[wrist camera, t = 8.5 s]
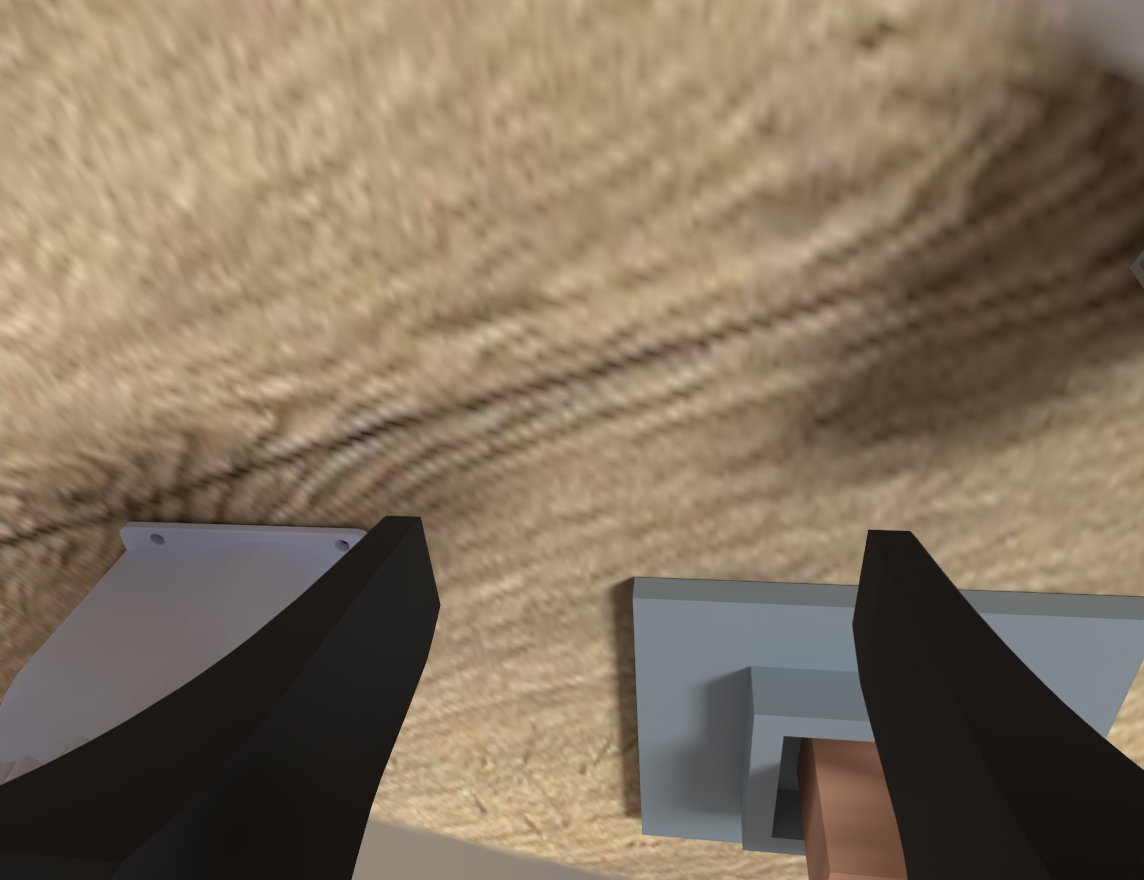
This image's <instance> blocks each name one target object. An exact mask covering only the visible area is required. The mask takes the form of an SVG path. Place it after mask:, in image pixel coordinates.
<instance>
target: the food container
mask: <svg viewBox="0 0 1144 880" xmlns="http://www.w3.org/2000/svg"><path fill="white" fill-rule="evenodd" d="M1129 270H1130V271H1131V273H1132V274H1133V275H1134V276H1135V278H1136V279H1137V280H1138V281H1139V283H1140V284H1141V285H1142V286H1143V288H1144V250H1143V251H1142V252H1141V253H1140V255H1139V256H1138V257H1137V258H1136V260H1135V261H1134V262H1133V264H1132V265H1131V266H1130V267H1129Z"/></svg>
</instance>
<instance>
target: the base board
mask: <svg viewBox="0 0 1144 880" xmlns="http://www.w3.org/2000/svg"><path fill="white" fill-rule="evenodd" d="M858 587H859V586H846V585H820V584H795V583H769V582H743V581H718V580H692V579H666V578H641V577H635V579H634V589H633V619H634V644H635V668H636V693H637V718H638V743H639V768H640V793H641V817H642V835H654V836H665V837H677V838H688V839H700V840H711V841H723V842H734V843H742V844H743V850H748V851H760V852H771V853H782V854H794V855H805V856H806V849H805V840H804V832H803V823H802V814H801V805H800V797H799V788H798V779H797V765H798V758H799V752H800V745H801V739H802V737H807V738H822V739H837V740H852V741H867V742H875V739H874V735H873V732H872V728H871V724H870V720H869V716H868V713H867V709H866V705H865V701H864V697H863V693H862V689H861V685H860V679H859V672H858V665H857V659H856V651H855V643H854V635H853V627H852V621H853V616H854V610H855V604H856V598H857V593H858ZM959 591H960V592H961V594H962V595H963V596H964V597H965V598H966V600H967V601H968V602H969V603H970V604H971V605H972V607H973V608H974V609H975V610H976V611H977V612H978V614H979V615H980V616H981V617H982V618H983V619H984V620H985V621H986V622H987V624H988V625H989V626H990V627H991V628H992V629H993V630H994V631H995V633H996V634H997V635H998V636H999V637H1000V638H1001V639H1002V640H1003V641H1004V643H1005V644H1006V645H1007V646H1008V647H1009V648H1010V649H1011V650H1012V651H1013V652H1014V653H1015V654H1016V655H1017V656H1018V657H1019V658H1020V659H1021V661H1022V662H1023V663H1024V664H1025V665H1026V666H1027V667H1028V668H1029V669H1030V670H1031V671H1032V672H1033V673H1034V674H1035V675H1036V676H1037V677H1038V678H1039V679H1040V680H1041V681H1042V682H1043V683H1044V684H1045V685H1046V686H1047V687H1048V688H1049V689H1050V690H1051V691H1053V692H1054V693H1055V694H1056V695H1057V696H1058V697H1059V698H1060V699H1061V700H1062V701H1063V702H1064V703H1065V704H1066V705H1067V706H1068V707H1069V708H1071V709H1072V710H1073V711H1074V712H1075V713H1076V714H1077V715H1079V716H1080V717H1081V718H1082V719H1083V720H1084V721H1085V722H1087V723H1088V724H1089V725H1090V726H1091V727H1092V728H1093V729H1095V730H1096V731H1097V732H1098V733H1099V734H1100V735H1101V736H1103V737H1104V738H1105V739H1106V737H1107V735H1108V733H1109V731H1110V729H1111V727H1112V725H1113V723H1114V721H1115V719H1116V716H1117V714H1118V712H1119V710H1120V708H1121V706H1122V704H1123V702H1124V700H1125V697H1126V695H1127V693H1128V691H1129V689H1130V687H1131V685H1132V683H1133V681H1134V678H1135V676H1136V674H1137V672H1138V670H1139V668H1140V666H1141V664H1142V662H1143V660H1144V597H1128V596H1102V595H1077V594H1051V593H1025V592H1000V591H974V590H959Z"/></svg>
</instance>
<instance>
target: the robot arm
mask: <svg viewBox="0 0 1144 880" xmlns="http://www.w3.org/2000/svg"><path fill="white" fill-rule="evenodd" d="M119 534H120V538H121V540H122V542H123V544H124V546H125V548H126V550H127V551H126V552H125V553H124V554H123V555H122V556H121V557H120V558H119V559H118V561H117V562H116V563H115V564H114V565H113V566H112V567H111V568H110V569H109V571H108V572H107V573H106V574H105V575H104V576H103V577H102V578H101V580H100V581H99V582H98V583H97V584H96V585H95V586H94V587H93V589H92V590H91V591H90V592H89V593H88V594H87V595H86V596H85V598H84V599H83V600H82V601H81V602H80V603H79V604H78V605H77V607H76V608H75V609H74V610H73V611H72V612H71V613H70V614H69V616H68V617H67V618H66V619H65V620H64V621H63V622H62V623H61V625H60V626H59V627H58V628H57V629H56V630H55V631H54V632H53V633H52V635H51V636H50V637H49V638H48V639H47V640H46V641H45V642H44V644H43V645H42V646H41V647H40V648H39V649H38V650H37V651H36V653H35V654H34V655H33V656H32V657H31V658H30V659H29V660H28V662H27V663H26V664H25V665H24V666H23V668H22V669H21V670H20V672H19V673H18V674H17V676H16V677H15V679H14V680H13V682H12V684H11V685H10V687H9V689H8V690H7V692H6V694H5V696H4V699H3V701H2V703H1V705H0V880H351V879H352V875H353V871H354V868H355V864H356V860H357V856H358V853H359V849H360V845H361V842H362V839H363V835H364V831H365V828H366V824H367V821H368V817H369V814H370V810H371V807H372V803H373V801H374V798H375V795H376V792H377V789H378V786H379V783H380V780H381V777H382V775H383V772H384V770H385V767H386V765H387V762H388V760H389V757H390V754H391V752H392V749H393V747H394V744H395V742H396V739H397V737H398V734H399V732H400V729H401V726H402V724H403V721H404V719H405V716H406V714H407V711H408V709H409V706H410V703H411V701H412V698H413V696H414V693H415V690H416V688H417V685H418V683H419V680H420V677H421V675H422V672H423V669H424V667H425V664H426V661H427V658H428V654H429V650H430V647H431V643H432V639H433V635H434V631H435V626H436V622H437V618H438V613H439V609H440V601H439V596H438V592H437V588H436V583H435V579H434V574H433V570H432V565H431V561H430V556H429V552H428V548H427V543H426V539H425V534H424V530H423V525H422V521H421V517H407V516H386V517H384V518H383V519H382V520H381V521H380V522H379V523H378V524H377V525H376V526H374V527H373V528H372V529H371V530H370V531H369V532H368V533H367V532H366V531H364V530H361V529H353V528H321V527H289V526H258V525H226V524H194V523H163V522H128V523H126V524H125V525H124V526H123V527H122V528H121V529H120V532H119ZM341 540H343V541H345V542H347V543H348V544H345V543H343V542H342V541H341ZM852 627H853V635H854V643H855V651H856V659H857V665H858V672H859V679H860V685H861V689H862V693H863V697H864V701H865V705H866V709H867V713H868V716H869V720H870V724H871V728H872V732H873V735H874V739H875V743H876V747H877V750H878V754H879V758H880V762H881V765H882V769H883V773H884V777H885V780H886V784H887V788H888V792H889V795H890V799H891V803H892V806H893V810H894V814H895V818H896V822H897V826H898V831H899V835H900V840H901V844H902V849H903V854H904V860H905V866H906V872H907V878H908V880H1144V770H1143V769H1142V768H1140V767H1139V766H1138V765H1137V764H1135V763H1134V762H1133V761H1131V760H1130V759H1129V758H1128V757H1127V756H1125V755H1124V754H1123V753H1122V752H1120V751H1119V750H1118V749H1117V748H1116V747H1114V746H1113V745H1112V744H1111V743H1109V742H1108V741H1107V740H1106V739H1105V738H1104V737H1103V736H1101V735H1100V734H1099V733H1098V732H1097V731H1096V730H1095V729H1093V728H1092V727H1091V726H1090V725H1089V724H1088V723H1087V722H1085V721H1084V720H1083V719H1082V718H1081V717H1080V716H1079V715H1077V714H1076V713H1075V712H1074V711H1073V710H1072V709H1071V708H1069V707H1068V706H1067V705H1066V704H1065V703H1064V702H1063V701H1062V700H1061V699H1060V698H1059V697H1058V696H1057V695H1056V694H1055V693H1054V692H1053V691H1051V690H1050V689H1049V688H1048V687H1047V686H1046V685H1045V684H1044V683H1043V682H1042V681H1041V680H1040V679H1039V678H1038V677H1037V676H1036V675H1035V674H1034V673H1033V672H1032V671H1031V670H1030V669H1029V668H1028V667H1027V666H1026V665H1025V664H1024V663H1023V662H1022V661H1021V659H1020V658H1019V657H1018V656H1017V655H1016V654H1015V653H1014V652H1013V651H1012V650H1011V649H1010V648H1009V647H1008V646H1007V645H1006V644H1005V643H1004V641H1003V640H1002V639H1001V638H1000V637H999V636H998V635H997V634H996V633H995V631H994V630H993V629H992V628H991V627H990V626H989V625H988V624H987V622H986V621H985V620H984V619H983V618H982V617H981V616H980V615H979V614H978V612H977V611H976V610H975V609H974V608H973V607H972V605H971V604H970V603H969V602H968V601H967V600H966V598H965V597H964V596H963V595H962V594H961V592H960V591H959V590H958V589H957V588H956V586H955V585H954V584H953V583H952V582H951V580H950V579H949V578H948V577H947V576H946V574H945V573H944V572H943V571H942V569H941V568H940V567H939V566H938V564H937V563H936V562H935V561H934V559H933V558H932V557H931V556H930V554H929V553H928V552H927V550H926V549H925V548H924V547H923V545H922V544H921V543H920V542H919V540H918V539H917V538H916V537H915V536H914V535H913V534H912V533H911V532H910V531H891V530H868V535H867V541H866V546H865V552H864V558H863V564H862V570H861V575H860V581H859V587H858V593H857V598H856V604H855V610H854V616H853V621H852Z"/></svg>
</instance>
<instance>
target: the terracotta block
mask: <svg viewBox="0 0 1144 880" xmlns="http://www.w3.org/2000/svg"><path fill="white" fill-rule="evenodd" d="M797 779H798V788H799V797H800V805H801V814H802V823H803V832H804V840H805V849H806V858H807V867H808V876H809V880H908V878H907V872H906V866H905V860H904V854H903V849H902V844H901V840H900V835H899V831H898V826H897V822H896V818H895V814H894V810H893V806H892V803H891V799H890V795H889V792H888V788H887V784H886V780H885V777H884V773H883V769H882V765H881V762H880V758H879V754H878V750H877V747H876V743H875V742H867V741H852V740H837V739H822V738H807V737H802V739H801V745H800V752H799V758H798V765H797Z"/></svg>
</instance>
